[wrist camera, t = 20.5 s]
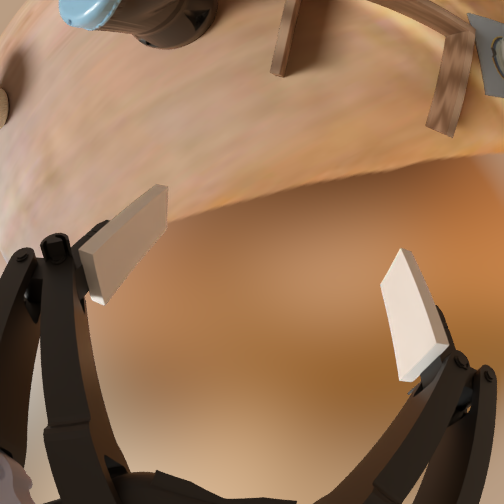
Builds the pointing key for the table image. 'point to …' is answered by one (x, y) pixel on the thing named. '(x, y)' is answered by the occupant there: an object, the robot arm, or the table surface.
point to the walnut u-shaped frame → (452, 66)
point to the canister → (3, 107)
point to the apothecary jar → (498, 54)
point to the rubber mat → (488, 52)
